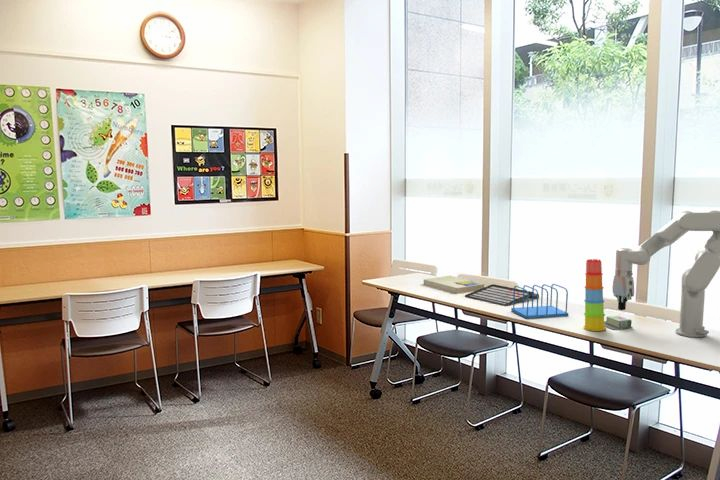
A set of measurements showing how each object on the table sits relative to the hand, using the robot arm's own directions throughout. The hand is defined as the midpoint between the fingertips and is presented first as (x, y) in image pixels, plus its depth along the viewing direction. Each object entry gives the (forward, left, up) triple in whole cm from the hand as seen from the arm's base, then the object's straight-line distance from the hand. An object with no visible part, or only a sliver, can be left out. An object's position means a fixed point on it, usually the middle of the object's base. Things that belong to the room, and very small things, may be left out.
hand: (621, 309), depth 285 cm
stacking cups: (+3, +14, -9) cm, 17 cm away
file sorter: (+38, +21, -10) cm, 44 cm away
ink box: (-3, 0, -7) cm, 8 cm away
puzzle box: (+118, +31, -10) cm, 123 cm away
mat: (+4, +1, -9) cm, 10 cm away
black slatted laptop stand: (+79, +18, -10) cm, 82 cm away
